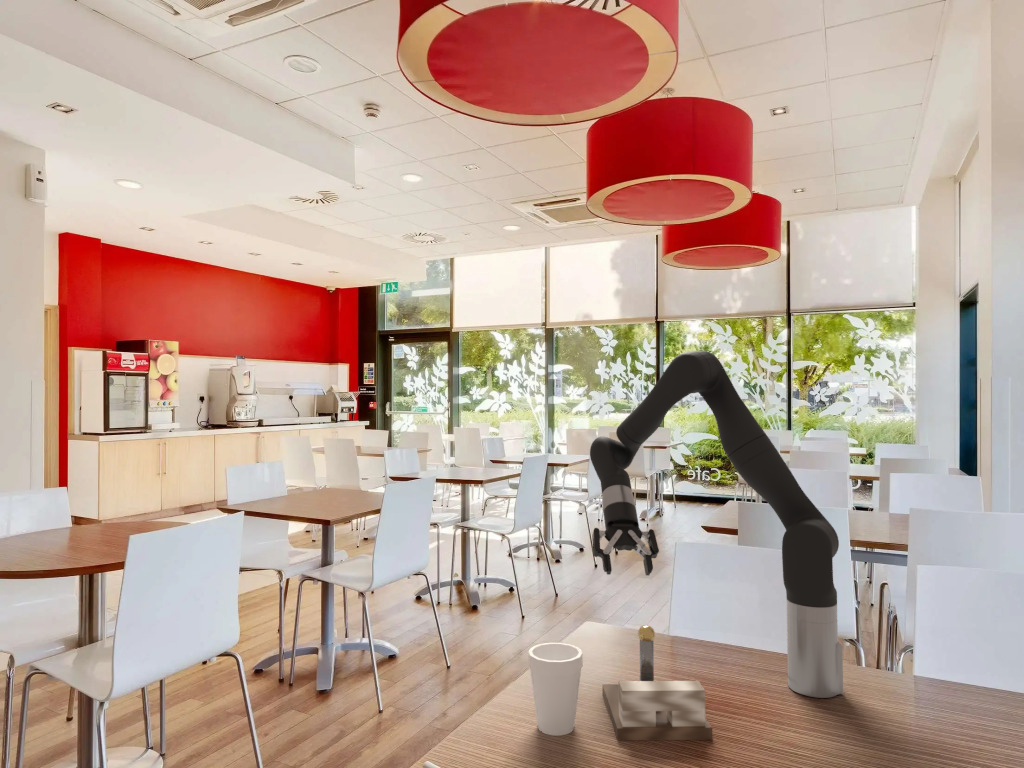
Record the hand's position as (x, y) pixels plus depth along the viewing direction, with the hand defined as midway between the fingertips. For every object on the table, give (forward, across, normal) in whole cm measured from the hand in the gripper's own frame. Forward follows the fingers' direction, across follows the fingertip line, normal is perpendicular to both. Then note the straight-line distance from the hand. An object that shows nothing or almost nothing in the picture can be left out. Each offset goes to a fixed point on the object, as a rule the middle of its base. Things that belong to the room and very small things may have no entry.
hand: (629, 573), depth 146 cm
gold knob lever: (+26, 0, -2) cm, 26 cm away
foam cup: (+33, -18, -4) cm, 38 cm away
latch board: (+30, 0, -3) cm, 30 cm away
